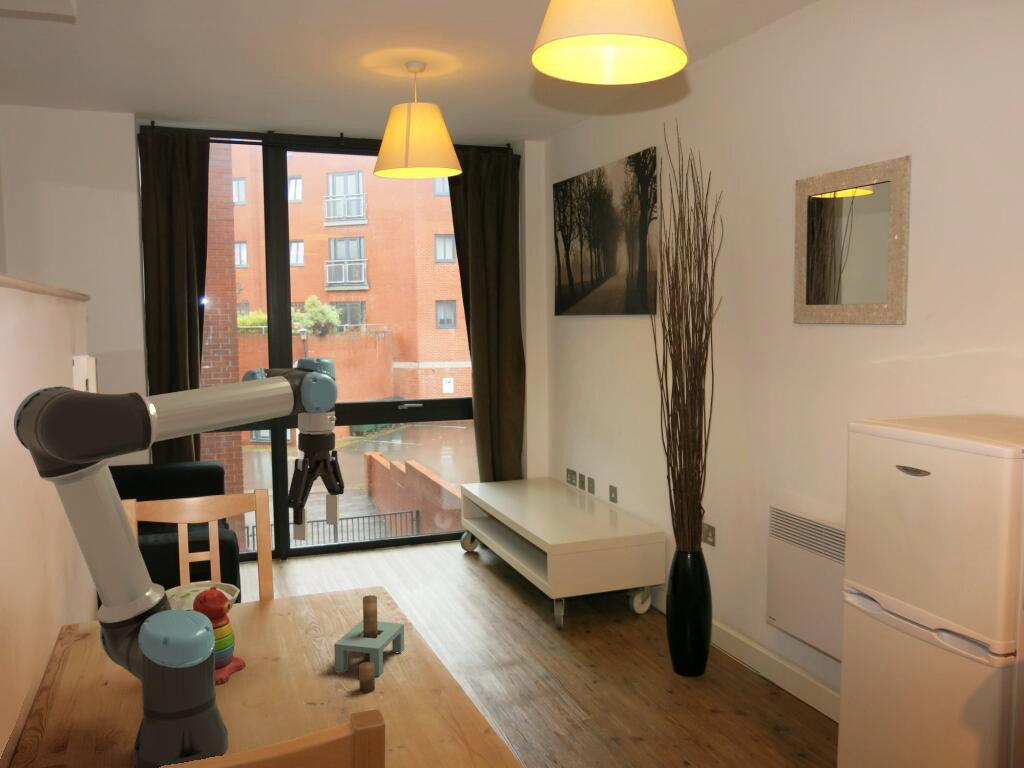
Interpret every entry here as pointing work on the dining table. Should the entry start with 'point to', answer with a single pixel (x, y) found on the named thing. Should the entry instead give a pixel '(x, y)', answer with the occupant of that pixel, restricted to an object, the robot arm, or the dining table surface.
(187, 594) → the bowl
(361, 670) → the short pin
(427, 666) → the dining table surface
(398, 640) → the green stand with hole
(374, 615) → the long pin
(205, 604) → the stacking bear
